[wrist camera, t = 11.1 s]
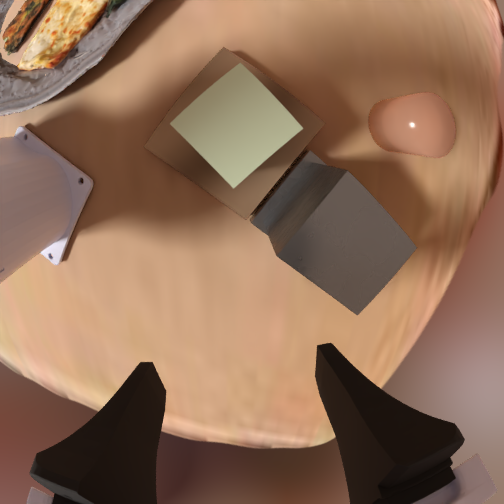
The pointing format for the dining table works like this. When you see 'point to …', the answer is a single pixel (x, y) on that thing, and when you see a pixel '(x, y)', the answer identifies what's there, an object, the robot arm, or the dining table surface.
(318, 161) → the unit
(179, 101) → the pad
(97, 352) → the dining table surface
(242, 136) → the sage block
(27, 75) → the food plate
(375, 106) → the terracotta cylinder
